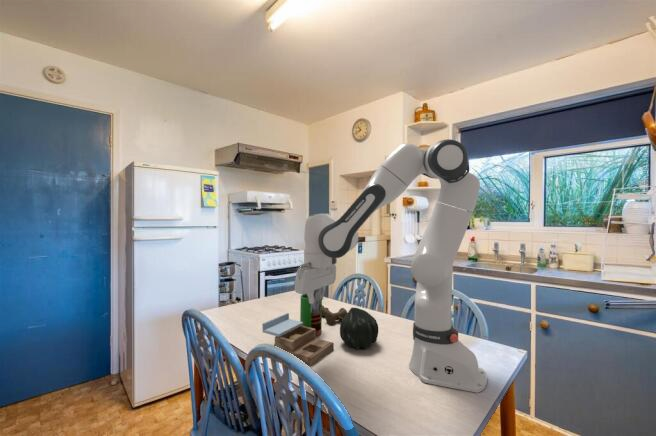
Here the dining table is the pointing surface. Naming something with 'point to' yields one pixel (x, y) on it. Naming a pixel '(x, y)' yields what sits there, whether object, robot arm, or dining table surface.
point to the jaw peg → (317, 305)
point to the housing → (304, 344)
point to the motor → (310, 315)
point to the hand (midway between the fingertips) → (316, 301)
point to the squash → (358, 329)
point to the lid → (280, 325)
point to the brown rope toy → (333, 315)
